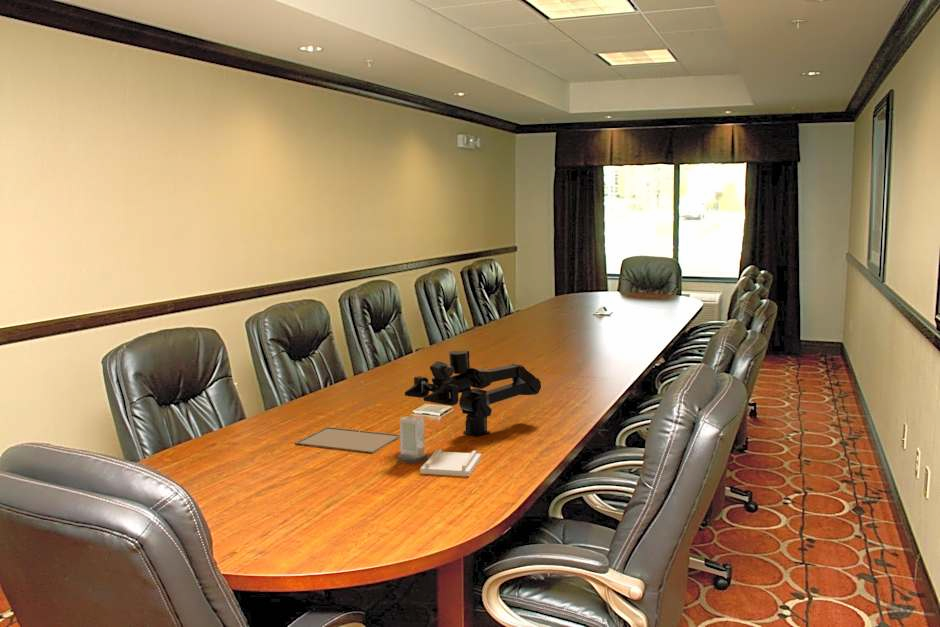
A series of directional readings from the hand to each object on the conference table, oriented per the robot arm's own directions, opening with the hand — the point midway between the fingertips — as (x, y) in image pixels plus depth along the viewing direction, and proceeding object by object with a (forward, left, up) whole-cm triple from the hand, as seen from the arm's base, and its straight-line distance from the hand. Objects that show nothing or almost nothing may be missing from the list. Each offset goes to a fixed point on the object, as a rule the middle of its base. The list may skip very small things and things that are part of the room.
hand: (414, 396), depth 253 cm
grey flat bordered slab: (+10, -23, -17) cm, 30 cm away
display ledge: (+2, +19, -17) cm, 26 cm away
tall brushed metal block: (+7, +7, -17) cm, 20 cm away
